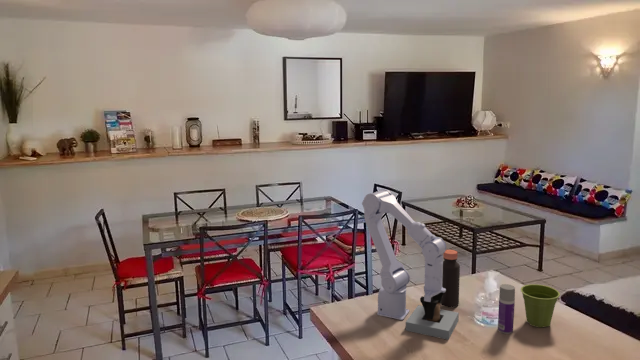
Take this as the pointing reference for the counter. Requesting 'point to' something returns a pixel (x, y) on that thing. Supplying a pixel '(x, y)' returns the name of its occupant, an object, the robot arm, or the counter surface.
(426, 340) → the counter surface
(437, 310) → the peg
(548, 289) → the plant pot
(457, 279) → the bottle
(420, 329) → the socket block
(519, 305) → the counter surface
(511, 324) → the container
